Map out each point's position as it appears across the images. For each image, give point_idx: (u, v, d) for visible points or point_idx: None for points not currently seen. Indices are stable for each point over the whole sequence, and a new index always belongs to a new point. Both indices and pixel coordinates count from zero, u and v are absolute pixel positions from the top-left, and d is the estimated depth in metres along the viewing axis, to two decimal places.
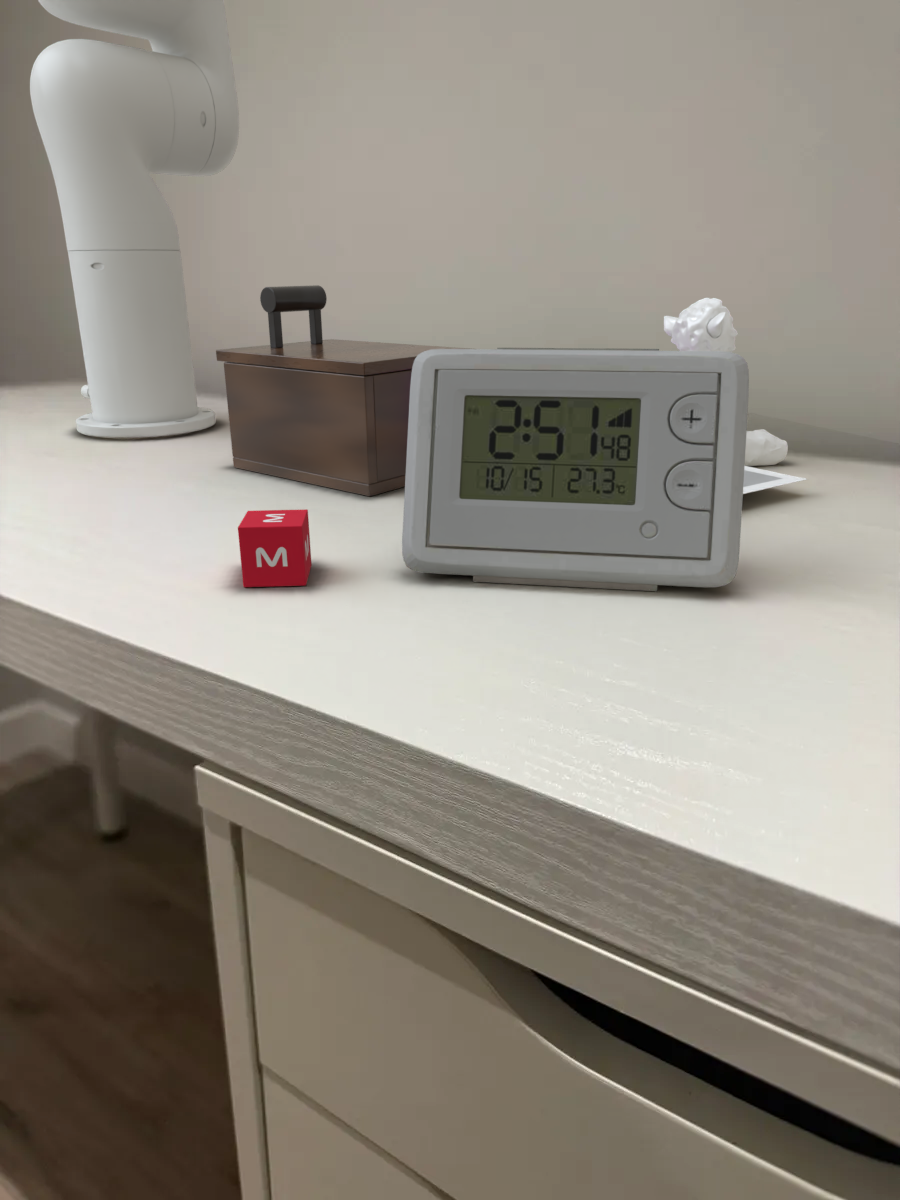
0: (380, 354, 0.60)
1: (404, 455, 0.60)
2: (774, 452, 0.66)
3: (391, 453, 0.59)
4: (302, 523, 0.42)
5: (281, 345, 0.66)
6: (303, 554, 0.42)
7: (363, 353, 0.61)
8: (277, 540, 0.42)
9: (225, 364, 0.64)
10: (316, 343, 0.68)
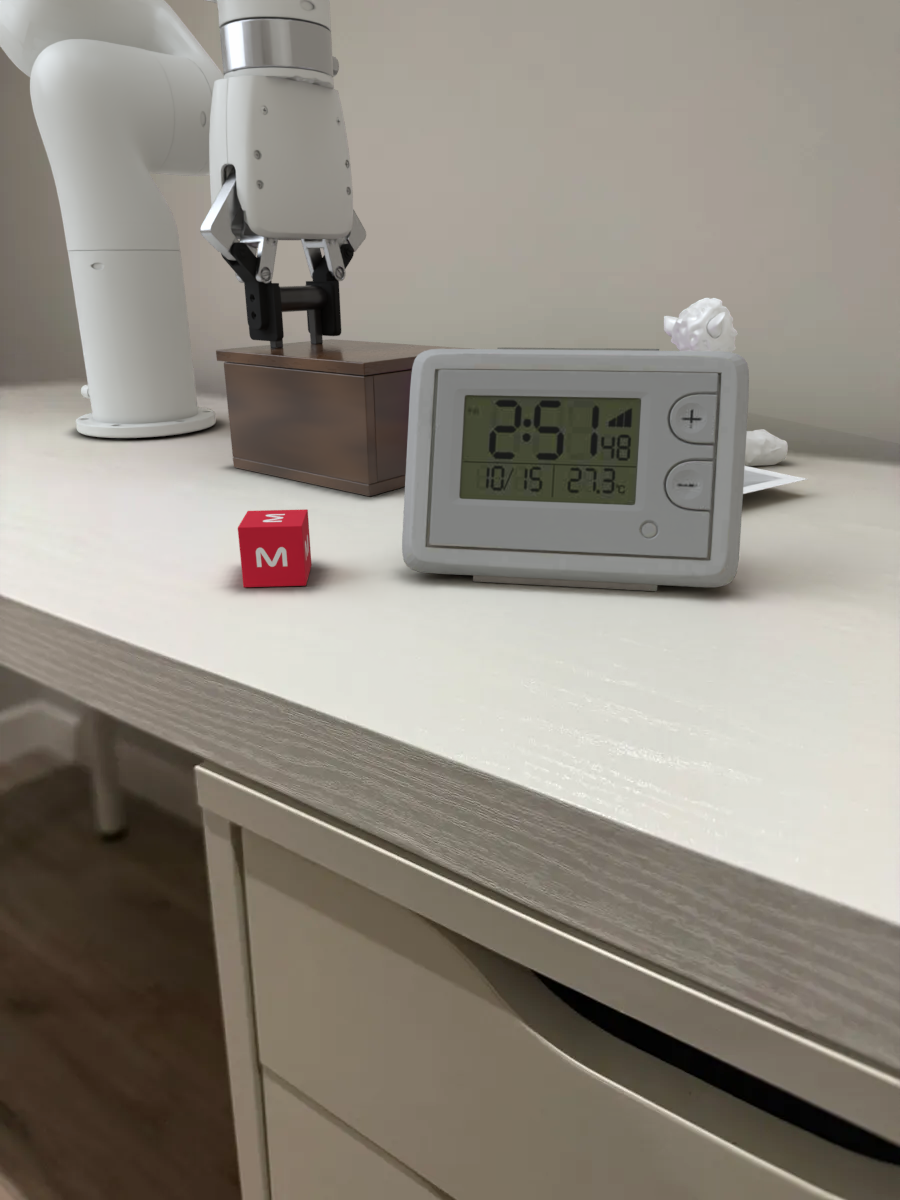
0: (380, 354, 0.60)
1: (404, 455, 0.60)
2: (774, 452, 0.66)
3: (391, 453, 0.59)
4: (302, 523, 0.42)
5: (281, 345, 0.66)
6: (303, 554, 0.42)
7: (363, 353, 0.61)
8: (277, 540, 0.42)
9: (225, 364, 0.64)
10: (316, 343, 0.68)
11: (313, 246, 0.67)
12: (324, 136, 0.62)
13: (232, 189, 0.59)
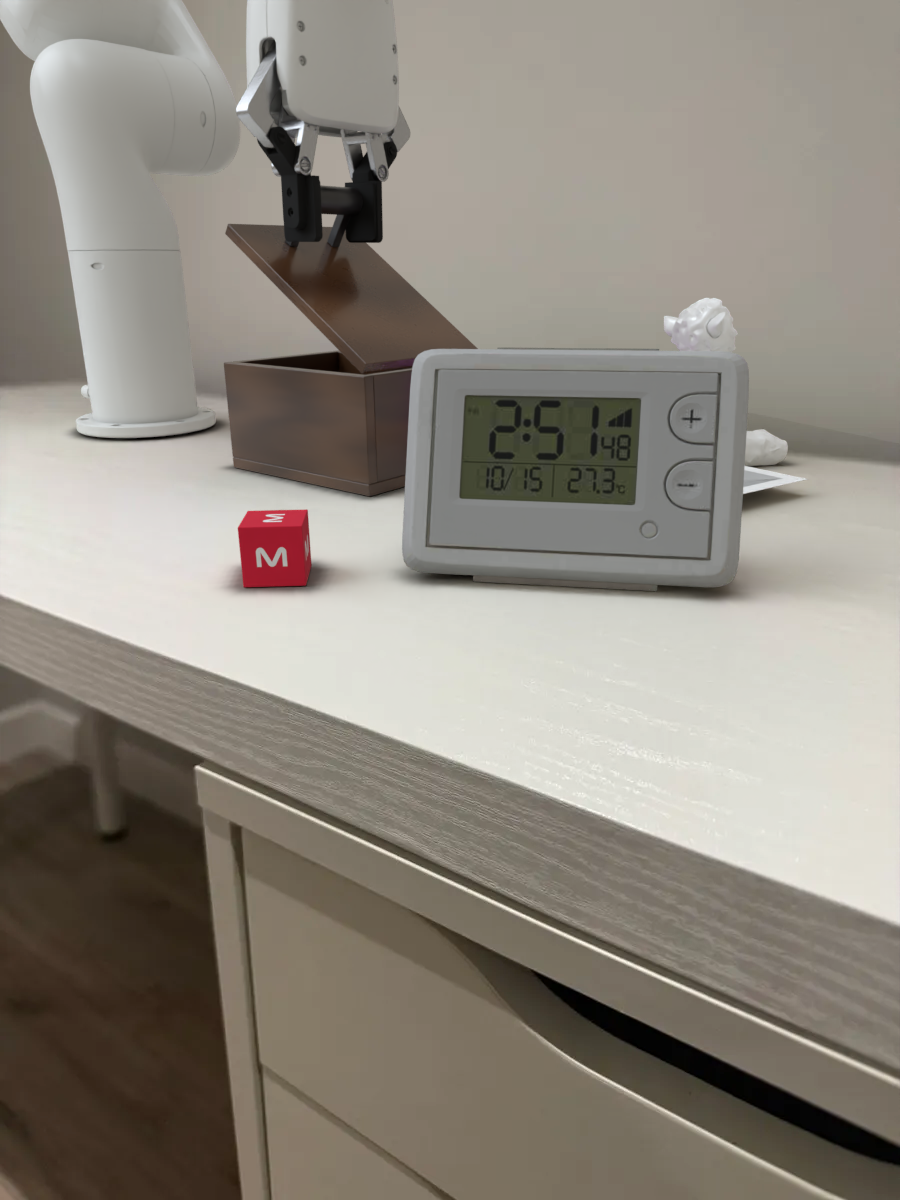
0: (387, 331, 0.59)
1: (404, 455, 0.60)
2: (774, 452, 0.66)
3: (391, 453, 0.59)
4: (302, 523, 0.42)
5: (296, 245, 0.62)
6: (303, 554, 0.42)
7: (372, 318, 0.60)
8: (277, 540, 0.42)
9: (225, 364, 0.64)
10: (332, 246, 0.64)
11: (354, 142, 0.61)
12: (371, 13, 0.57)
13: (272, 65, 0.54)
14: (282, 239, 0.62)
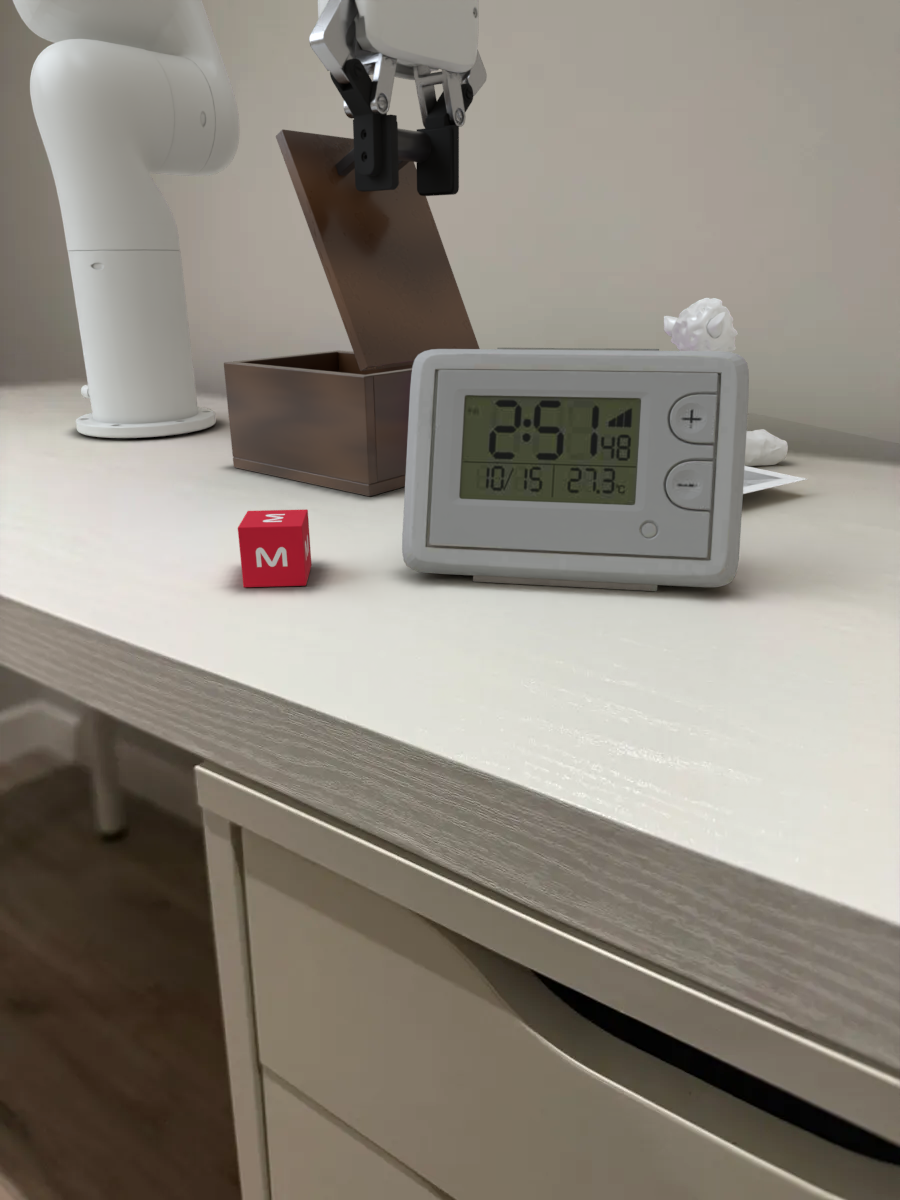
0: (400, 319, 0.58)
1: (404, 455, 0.60)
2: (774, 452, 0.66)
3: (391, 453, 0.59)
4: (302, 523, 0.42)
5: (345, 174, 0.57)
6: (303, 554, 0.42)
7: (391, 297, 0.58)
8: (277, 540, 0.42)
9: (225, 364, 0.64)
10: None
11: (429, 82, 0.56)
12: None
13: None
14: (333, 161, 0.57)
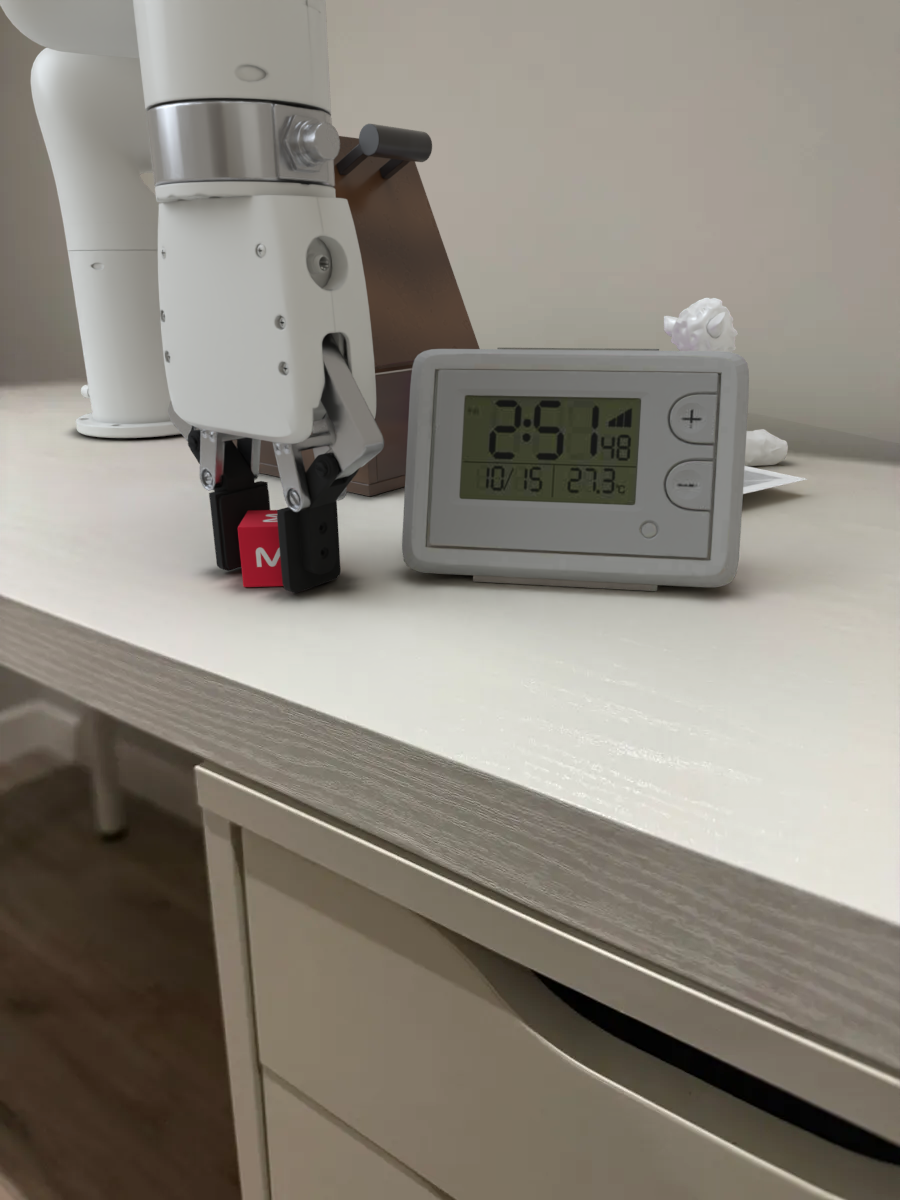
0: (401, 319, 0.58)
1: (404, 455, 0.60)
2: (774, 452, 0.66)
3: (391, 453, 0.59)
4: None
5: (346, 174, 0.57)
6: None
7: (392, 297, 0.58)
8: (277, 540, 0.42)
9: None
10: (382, 178, 0.60)
11: None
12: (232, 280, 0.36)
13: None
14: (334, 161, 0.57)
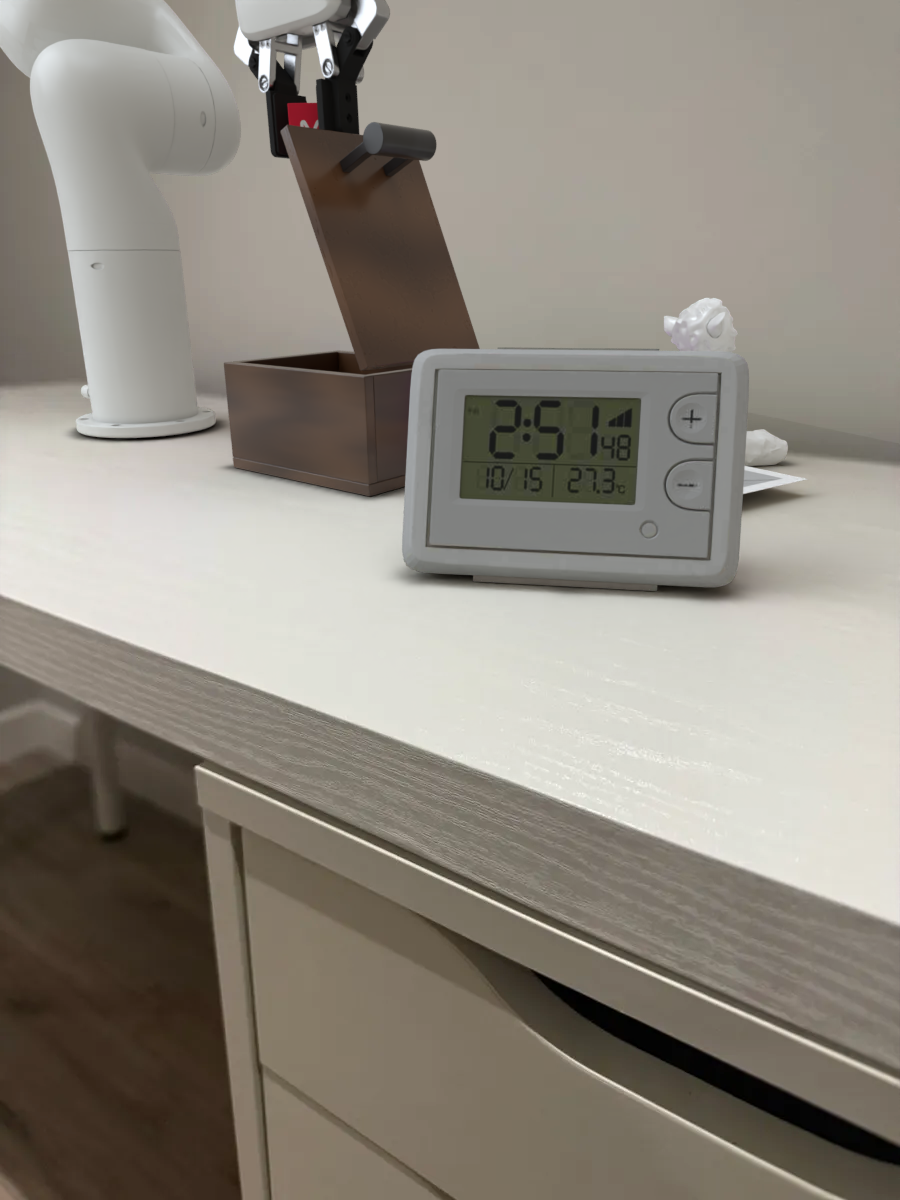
0: (402, 318, 0.58)
1: (404, 455, 0.60)
2: (774, 452, 0.66)
3: (391, 453, 0.59)
4: None
5: (349, 171, 0.57)
6: None
7: (393, 296, 0.58)
8: (315, 114, 0.59)
9: (225, 364, 0.64)
10: (386, 175, 0.59)
11: None
12: None
13: None
14: (337, 158, 0.57)
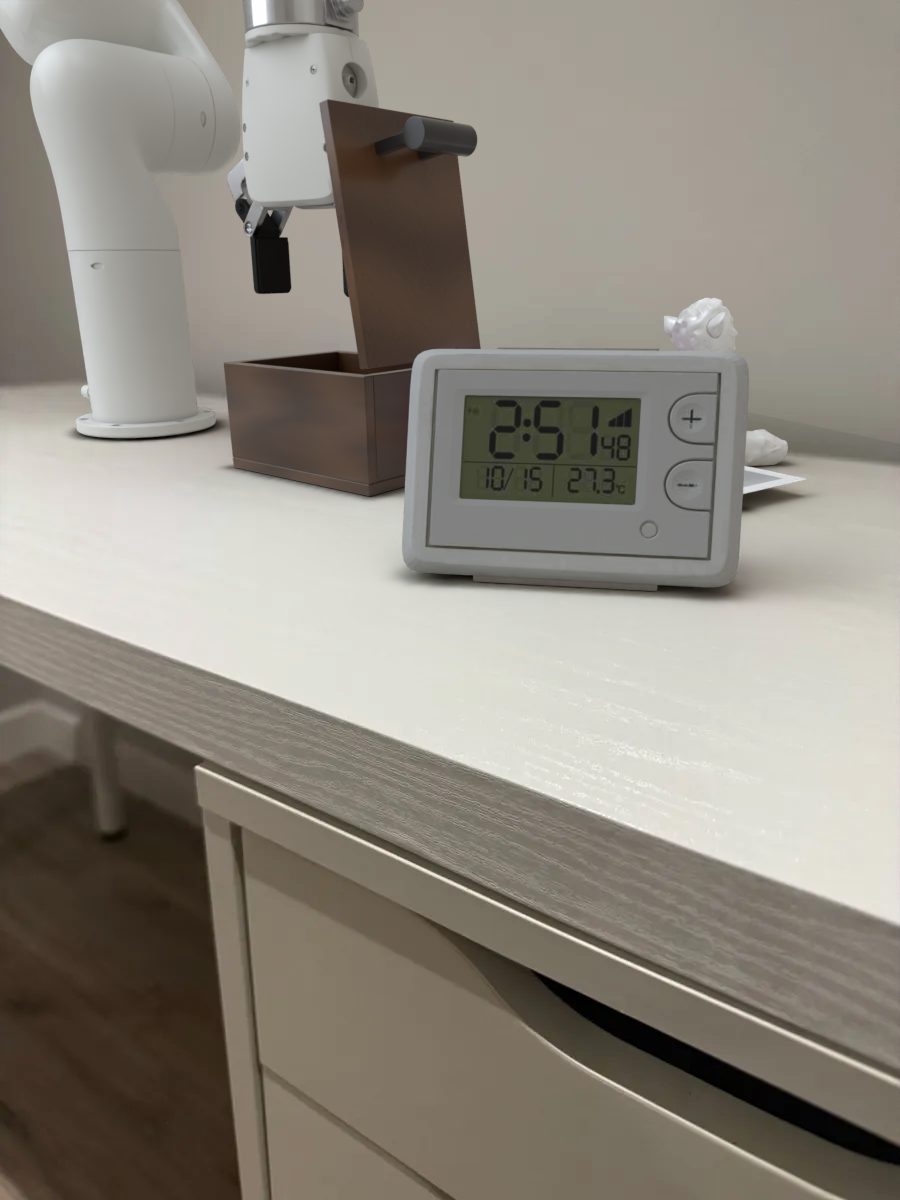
0: (410, 317, 0.58)
1: (404, 455, 0.60)
2: (774, 452, 0.66)
3: (391, 453, 0.59)
4: None
5: (383, 154, 0.55)
6: None
7: (405, 293, 0.57)
8: None
9: (225, 364, 0.64)
10: (419, 159, 0.57)
11: None
12: (295, 92, 0.57)
13: None
14: (373, 138, 0.54)
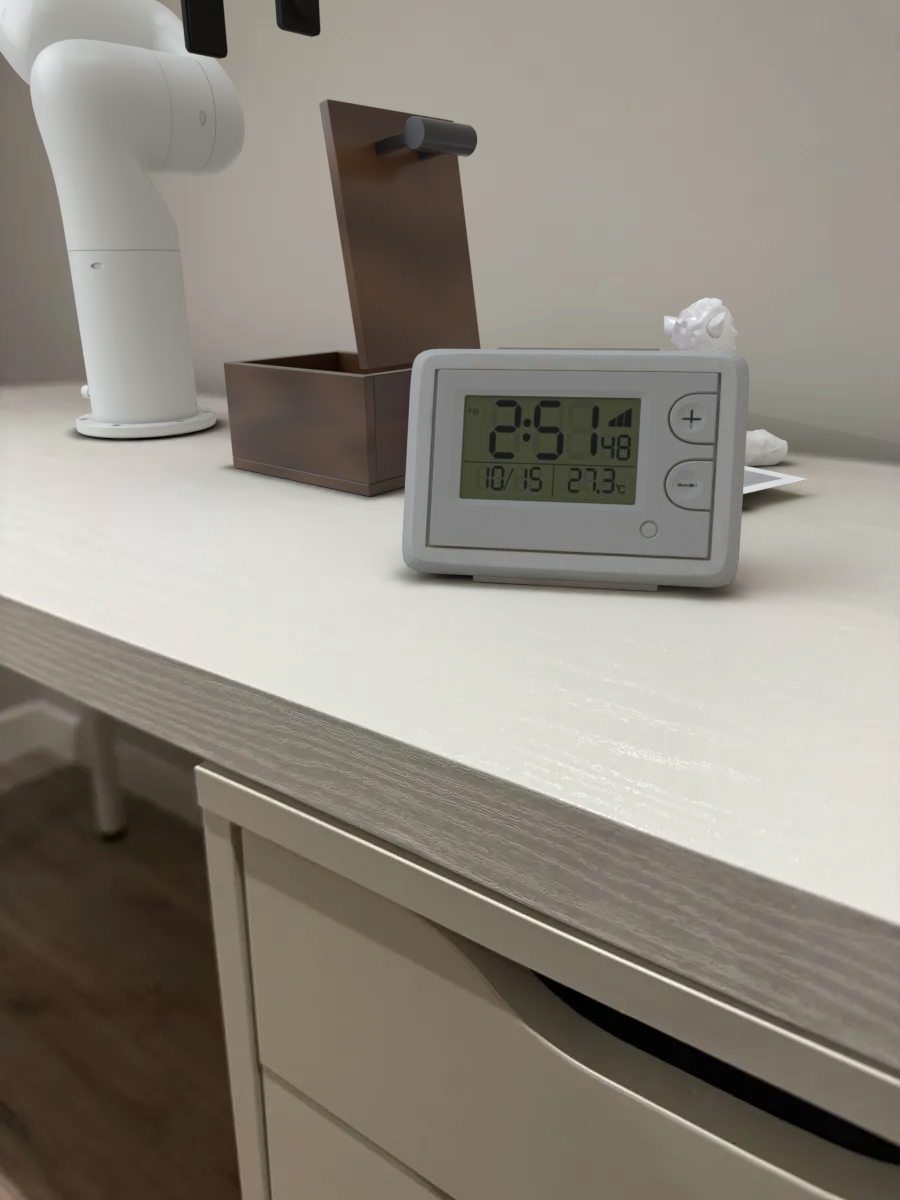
0: (410, 317, 0.58)
1: (404, 455, 0.60)
2: (774, 452, 0.66)
3: (391, 453, 0.59)
4: None
5: (383, 154, 0.55)
6: None
7: (405, 293, 0.57)
8: None
9: (225, 364, 0.64)
10: (419, 159, 0.57)
11: None
12: None
13: None
14: (373, 138, 0.54)
